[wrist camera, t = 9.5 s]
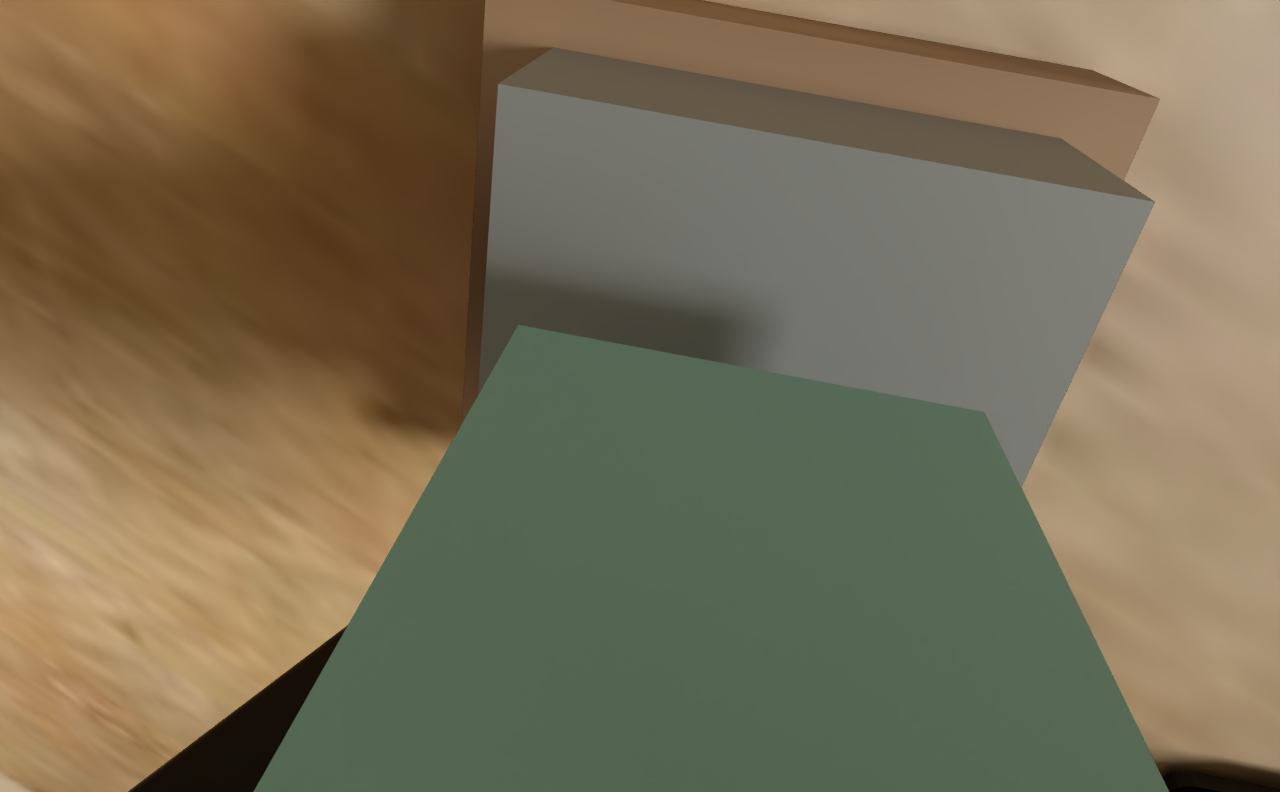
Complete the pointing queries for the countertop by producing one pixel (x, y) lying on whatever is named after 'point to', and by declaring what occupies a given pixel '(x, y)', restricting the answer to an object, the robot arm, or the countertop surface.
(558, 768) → the pillar block
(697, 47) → the bottom block
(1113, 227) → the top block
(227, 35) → the countertop surface
